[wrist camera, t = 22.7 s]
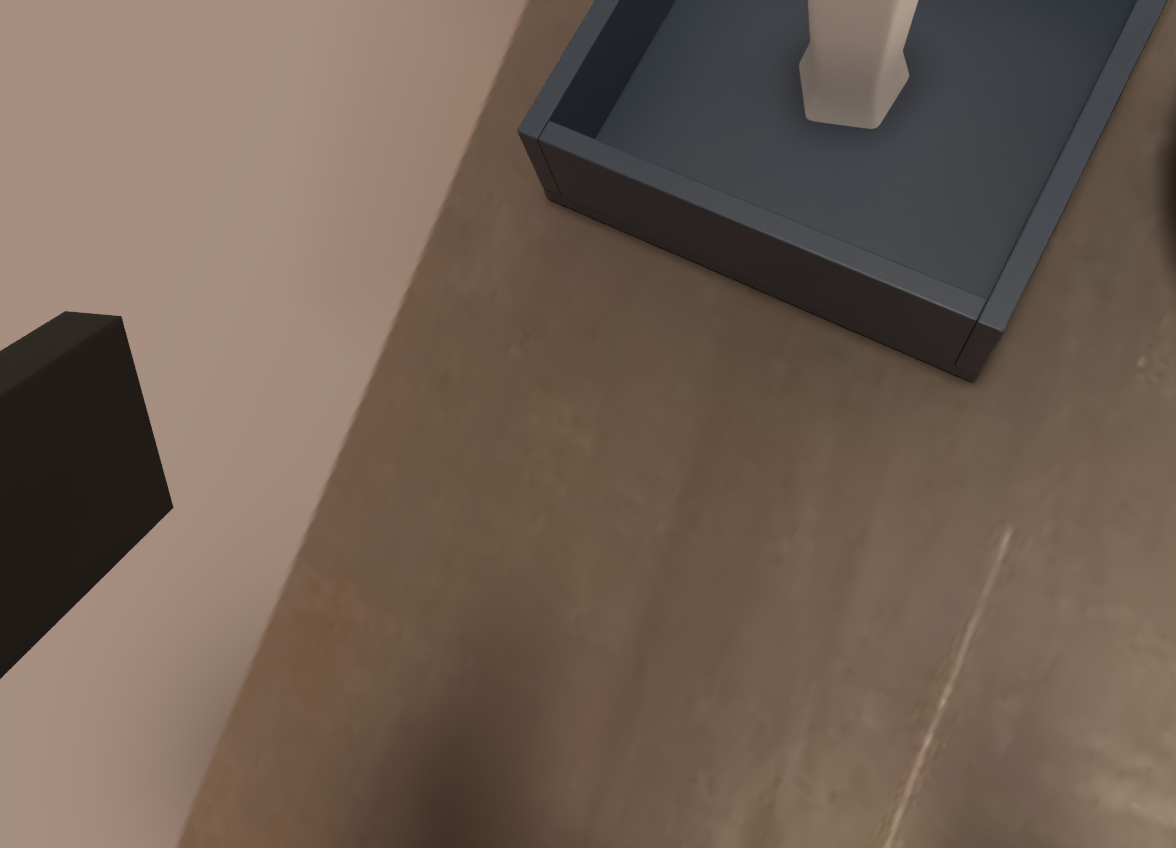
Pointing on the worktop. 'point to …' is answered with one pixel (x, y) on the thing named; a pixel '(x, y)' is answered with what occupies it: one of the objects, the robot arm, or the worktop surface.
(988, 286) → the bin
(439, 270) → the worktop surface
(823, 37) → the perfume bottle
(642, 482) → the worktop surface
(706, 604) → the worktop surface
